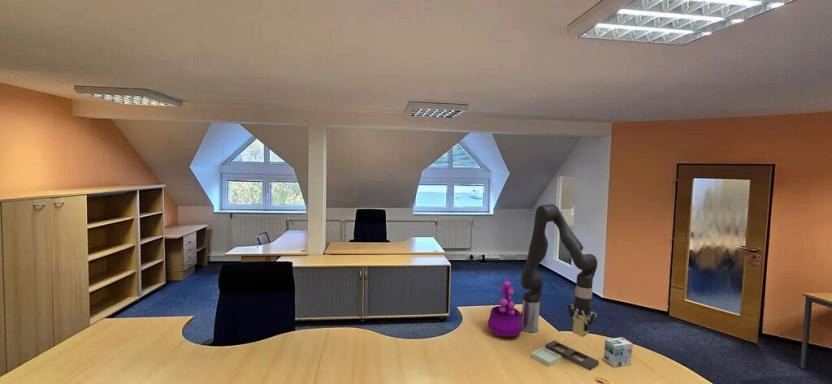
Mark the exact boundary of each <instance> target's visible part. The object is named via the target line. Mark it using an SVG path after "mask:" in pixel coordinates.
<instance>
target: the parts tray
mask: <svg viewBox="0 0 832 384" xmlns="http://www.w3.org/2000/svg"><path fill="white" fill-rule="evenodd" d="M530 357H531V358H533V360H534V359H535V360H537V361H538V362H540V363H542V364H544V365H546V366H548V367H550V366H552V365H554V364H557V363H558V362H560V361H561V360H562V357H561V355H559V354H557V353H555V352H553V351H551V350H548V349H546V348H545V346H544V347H543V346H542V347H541V348H539V349H536V350H535V351H533V352H531V356H530Z"/></svg>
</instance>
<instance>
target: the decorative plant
mask: <svg viewBox="0 0 832 384" xmlns="http://www.w3.org/2000/svg"><path fill="white" fill-rule="evenodd" d="M511 287H512V284H511V281H509V280H505V281H504V282H503V286H501V289H500V290H501V294H503V295H504V298H500V299H498V305H497V306H494V307H492V308H491V309H490V312H489V313H490V315H489V317H488V320H487V326H488V329H489V330H490V331H491V332H492V333H494V334H496V335H498V336H501V337H507V338H509V337H510V338H511V337H516V336H518V335H519V334H521V332H522V331H523V329H522V321H521V311H520V310H518V309H517V308H515V306H516V305H515V304H516V303H514V302H515V301H512V297H511V296H512V295H513V294H514V293H515V291H514V289H512V288H511Z"/></svg>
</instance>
